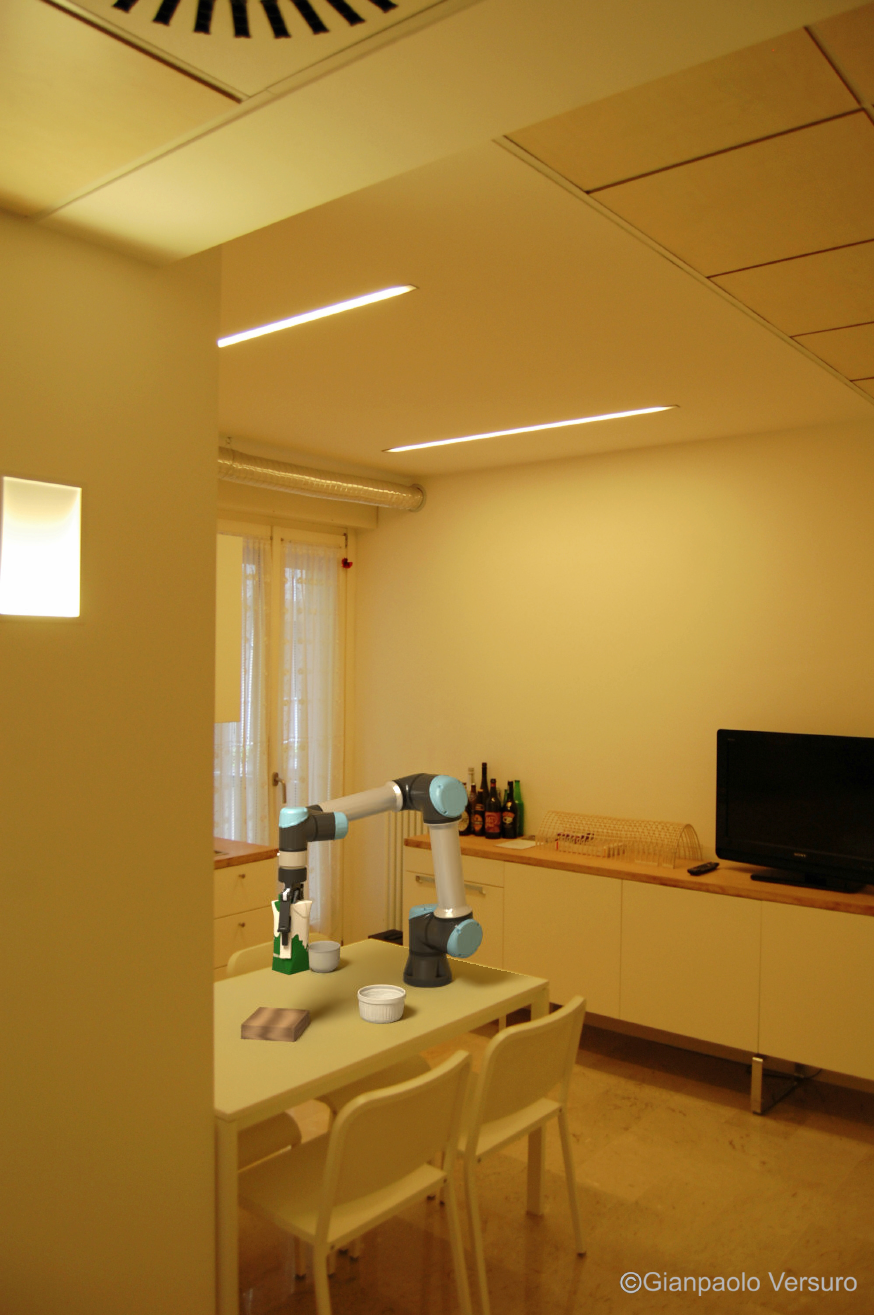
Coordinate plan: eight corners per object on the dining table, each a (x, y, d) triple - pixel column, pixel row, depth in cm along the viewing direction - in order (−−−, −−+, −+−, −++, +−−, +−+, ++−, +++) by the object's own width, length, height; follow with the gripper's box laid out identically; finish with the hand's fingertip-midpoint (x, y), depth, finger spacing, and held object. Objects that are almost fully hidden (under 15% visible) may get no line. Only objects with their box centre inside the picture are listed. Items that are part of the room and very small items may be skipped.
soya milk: (266, 970, 251) (268, 893, 252) (293, 963, 258) (294, 888, 259) (288, 977, 245) (290, 898, 246) (315, 969, 252) (316, 893, 253)
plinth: (309, 1025, 256) (309, 1010, 256) (293, 1044, 242) (293, 1028, 243) (259, 1022, 258) (259, 1007, 259) (240, 1040, 245) (241, 1024, 245)
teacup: (347, 968, 307) (347, 943, 308) (325, 977, 298) (326, 951, 298) (313, 962, 315) (313, 937, 315) (291, 970, 305) (291, 944, 306)
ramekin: (414, 1014, 264) (415, 989, 264) (388, 1029, 252) (388, 1002, 253) (375, 1006, 271) (375, 981, 271) (347, 1020, 259) (347, 994, 259)
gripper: (290, 859, 264) (289, 941, 263) (266, 873, 242) (264, 963, 241) (317, 860, 263) (315, 943, 262) (294, 874, 241) (293, 964, 240)
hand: (291, 952), depth 251 cm, fingers closed on soya milk, 9 cm apart
